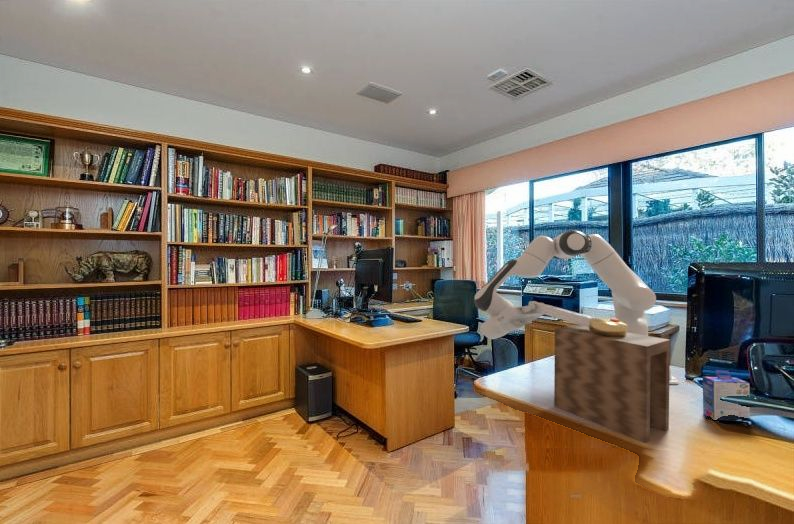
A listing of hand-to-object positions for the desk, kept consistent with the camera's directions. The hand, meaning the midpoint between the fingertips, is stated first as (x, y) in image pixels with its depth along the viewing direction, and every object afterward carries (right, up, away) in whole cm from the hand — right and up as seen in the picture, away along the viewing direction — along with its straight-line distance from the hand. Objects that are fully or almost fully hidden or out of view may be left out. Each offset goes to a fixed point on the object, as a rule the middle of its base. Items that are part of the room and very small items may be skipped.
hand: (539, 304), depth 129 cm
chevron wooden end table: (+13, -32, -20) cm, 40 cm away
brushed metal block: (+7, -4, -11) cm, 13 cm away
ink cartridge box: (+49, -33, -21) cm, 63 cm away
